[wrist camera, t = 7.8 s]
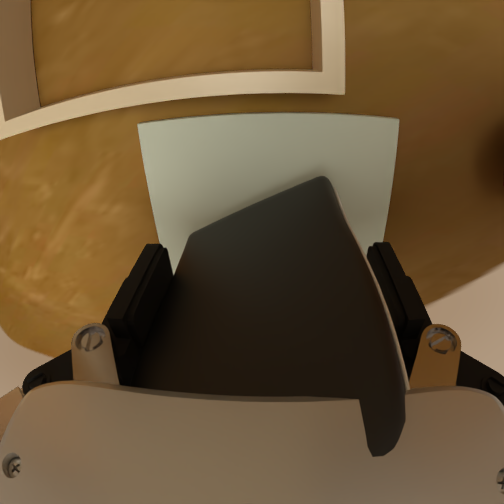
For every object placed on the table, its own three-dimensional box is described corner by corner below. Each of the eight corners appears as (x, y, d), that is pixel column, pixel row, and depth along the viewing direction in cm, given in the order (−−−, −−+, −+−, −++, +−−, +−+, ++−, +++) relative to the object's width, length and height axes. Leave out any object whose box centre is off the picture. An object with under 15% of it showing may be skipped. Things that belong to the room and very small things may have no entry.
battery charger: (226, 291, 16) (186, 529, 7) (183, 232, 14) (87, 494, 5) (359, 240, 14) (433, 506, 5) (329, 166, 12) (436, 483, 3)
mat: (396, 117, 13) (399, 119, 13) (370, 286, 19) (372, 290, 18) (140, 122, 14) (137, 124, 13) (172, 286, 19) (171, 291, 19)
